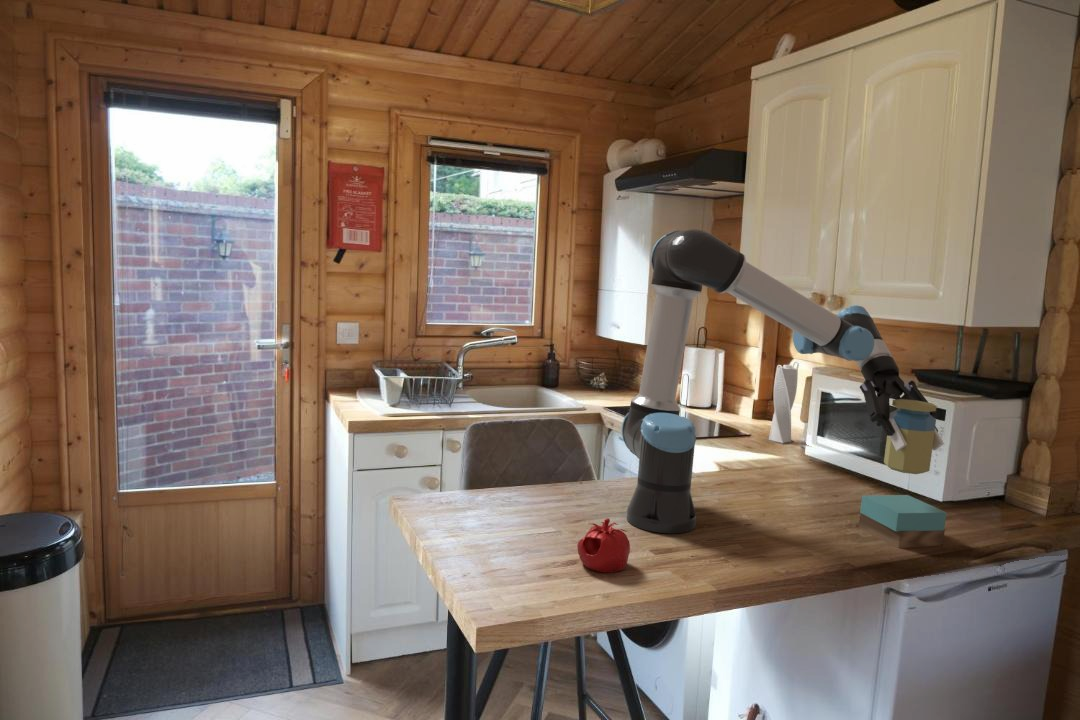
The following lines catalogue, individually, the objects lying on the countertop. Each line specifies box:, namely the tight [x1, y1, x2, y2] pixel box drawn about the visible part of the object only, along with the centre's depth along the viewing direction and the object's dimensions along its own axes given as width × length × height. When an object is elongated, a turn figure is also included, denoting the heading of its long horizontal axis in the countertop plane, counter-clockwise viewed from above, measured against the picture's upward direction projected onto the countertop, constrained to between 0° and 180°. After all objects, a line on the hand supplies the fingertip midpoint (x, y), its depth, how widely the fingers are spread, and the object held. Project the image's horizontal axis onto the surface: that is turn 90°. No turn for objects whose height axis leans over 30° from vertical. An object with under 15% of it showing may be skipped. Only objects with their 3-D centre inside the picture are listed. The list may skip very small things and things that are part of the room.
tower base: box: [858, 512, 946, 549], centre depth 167 cm, size 12×12×4 cm
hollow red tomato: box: [577, 517, 631, 574], centre depth 140 cm, size 10×10×9 cm
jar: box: [883, 399, 937, 475], centre depth 165 cm, size 9×9×15 cm
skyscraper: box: [764, 361, 800, 445], centre depth 255 cm, size 8×8×28 cm
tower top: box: [859, 494, 947, 531], centre depth 166 cm, size 12×12×4 cm
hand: (920, 447), depth 162 cm, fingers closed on jar, 9 cm apart
